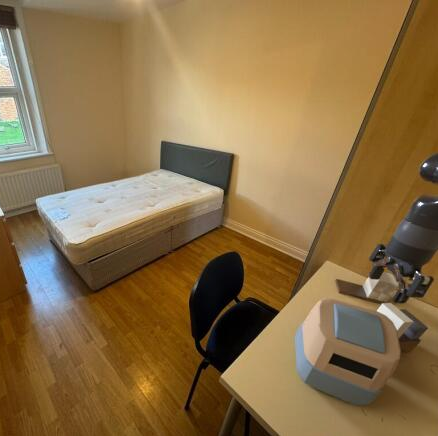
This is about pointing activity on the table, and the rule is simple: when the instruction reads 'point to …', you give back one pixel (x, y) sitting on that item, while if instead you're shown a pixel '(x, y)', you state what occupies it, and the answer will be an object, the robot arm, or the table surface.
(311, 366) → the alarm clock
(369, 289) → the brown base with block
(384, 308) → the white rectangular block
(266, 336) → the table surface
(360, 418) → the table surface
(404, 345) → the grey shelf
